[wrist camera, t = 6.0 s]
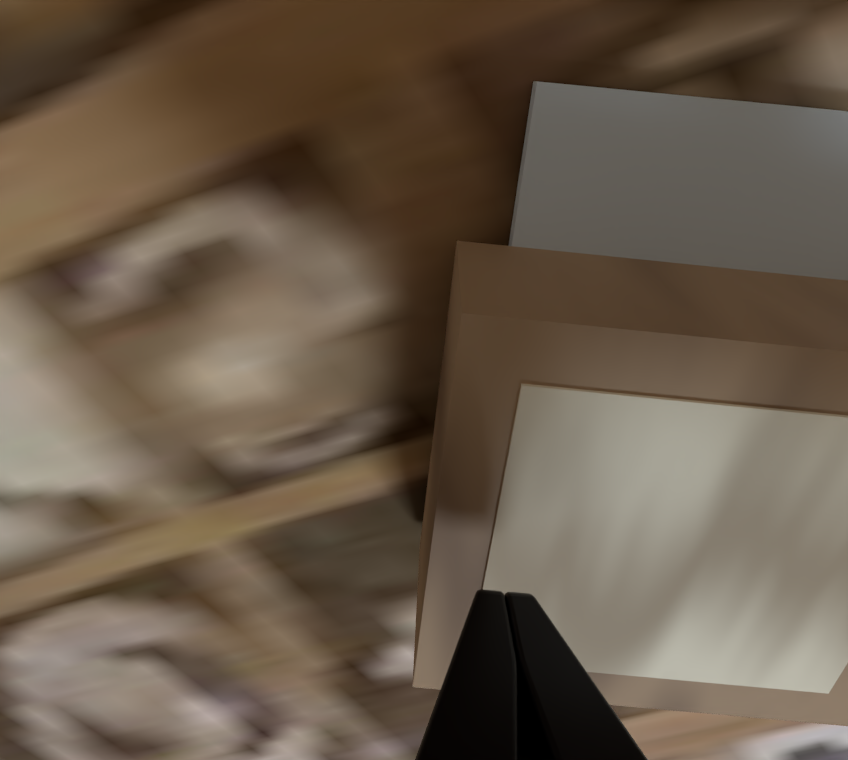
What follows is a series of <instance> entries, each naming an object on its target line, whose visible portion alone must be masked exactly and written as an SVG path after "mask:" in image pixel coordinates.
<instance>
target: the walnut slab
mask: <svg viewBox="0 0 848 760" xmlns="http://www.w3.org/2000/svg"><path fill="white" fill-rule="evenodd" d="M479 589H484V590H496V591H501V592H503V594H504V595H505V593H507V592H519V593H529V594H532V595H533V596H534V597H535V598H536V600H537V601H538V602H539V604H540V605H541V607H542V608H543V610H544V611H545V613H546V614H547V615H548V617H549V618H550V620H551V621H552V623H553V624H554V626H555V627H556V628H557V630H558V631H559V633H560V634H561V636H562V637H563V638H564V640H565V641H566V643H567V644H568V646H569V647H570V649H571V650H572V651H573V653H574V654H575V656H576V657H577V659H578V660H579V662H580V663H581V664H582V666H583V667H584V669H585V670H586V672H587V673H588V675H589V676H590V677H591V679H592V680H593V682H594V683H595V685H596V686H597V688H598V689H599V690H600V692H601V693H602V695H603V696H604V698H605V699H606V701H607V702H608V703H609V705H618V706H629V707H640V708H651V709H663V710H674V711H685V712H696V713H707V714H718V715H730V716H741V717H752V718H763V719H774V720H785V721H797V722H808V723H819V724H830V725H841V726H848V280H838V279H828V278H818V277H808V276H799V275H789V274H779V273H769V272H759V271H750V270H740V269H730V268H720V267H710V266H701V265H691V264H681V263H671V262H661V261H652V260H642V259H632V258H622V257H612V256H603V255H593V254H583V253H573V252H563V251H554V250H544V249H534V248H524V247H514V246H505V245H495V244H485V243H475V242H466V241H457V242H456V251H455V259H454V267H453V276H452V284H451V292H450V300H449V309H448V317H447V325H446V334H445V342H444V350H443V359H442V367H441V375H440V383H439V392H438V400H437V408H436V417H435V425H434V433H433V442H432V450H431V458H430V466H429V475H428V483H427V491H426V500H425V508H424V516H423V525H422V533H421V541H420V554H419V573H418V592H417V612H416V631H415V651H414V670H413V687H417V688H428V689H439V690H441V687H442V684H443V681H444V679H445V676H446V673H447V670H448V668H449V665H450V662H451V659H452V657H453V654H454V651H455V648H456V646H457V643H458V640H459V637H460V635H461V632H462V629H463V626H464V624H465V621H466V618H467V615H468V612H469V610H470V607H471V604H472V601H473V599H474V596H475V593H476V592H477V590H479Z"/></svg>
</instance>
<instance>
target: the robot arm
mask: <svg viewBox="0 0 848 760" xmlns="http://www.w3.org/2000/svg"><path fill="white" fill-rule="evenodd" d="M415 760H647V758H646V757H645V755H644V754H643V753H642V751H641V750H640V748H639V747H638V745H637V744H636V742H635V741H634V740H633V738H632V737H631V735H630V734H629V732H628V731H627V729H626V728H625V727H624V725H623V724H622V722H621V721H620V719H619V718H618V716H617V715H616V714H615V712H614V711H613V709H612V708H611V706H610V705H609V703H608V702H607V701H606V699H605V698H604V696H603V695H602V693H601V692H600V690H599V689H598V688H597V686H596V685H595V683H594V682H593V680H592V679H591V677H590V676H589V675H588V673H587V672H586V670H585V669H584V667H583V666H582V664H581V663H580V662H579V660H578V659H577V657H576V656H575V654H574V653H573V651H572V650H571V649H570V647H569V646H568V644H567V643H566V641H565V640H564V638H563V637H562V636H561V634H560V633H559V631H558V630H557V628H556V627H555V626H554V624H553V623H552V621H551V620H550V618H549V617H548V615H547V614H546V613H545V611H544V610H543V608H542V607H541V605H540V604H539V602H538V601H537V600H536V598H535V597H534V596H533V595H532V594H529V593H519V592H507V593H505V595H504V594H503V592H501V591H496V590H484V589H479V590H477V592H476V593H475V596H474V599H473V601H472V604H471V607H470V610H469V612H468V615H467V618H466V621H465V624H464V626H463V629H462V632H461V635H460V637H459V640H458V643H457V646H456V648H455V651H454V654H453V657H452V659H451V662H450V665H449V668H448V670H447V673H446V676H445V679H444V681H443V684H442V687H441V690H440V693H439V695H438V698H437V701H436V704H435V706H434V709H433V712H432V715H431V717H430V720H429V723H428V726H427V728H426V731H425V734H424V737H423V739H422V742H421V745H420V748H419V751H418V753H417V756H416V759H415Z"/></svg>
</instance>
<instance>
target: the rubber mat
mask: <svg viewBox="0 0 848 760" xmlns="http://www.w3.org/2000/svg"><path fill="white" fill-rule="evenodd" d="M508 246H514V247H524V248H534V249H544V250H554V251H563V252H573V253H583V254H593V255H603V256H612V257H622V258H632V259H642V260H652V261H661V262H671V263H681V264H691V265H701V266H710V267H720V268H730V269H740V270H750V271H759V272H769V273H779V274H789V275H799V276H808V277H818V278H828V279H838V280H848V111H840V110H830V109H820V108H809V107H799V106H788V105H778V104H767V103H757V102H747V101H736V100H726V99H715V98H705V97H695V96H684V95H674V94H663V93H653V92H642V91H632V90H622V89H611V88H601V87H590V86H580V85H569V84H559V83H549V82H538V81H533V87H532V93H531V100H530V106H529V113H528V120H527V126H526V133H525V139H524V146H523V153H522V159H521V166H520V173H519V179H518V186H517V192H516V199H515V206H514V212H513V219H512V225H511V232H510V239H509V245H508Z"/></svg>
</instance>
